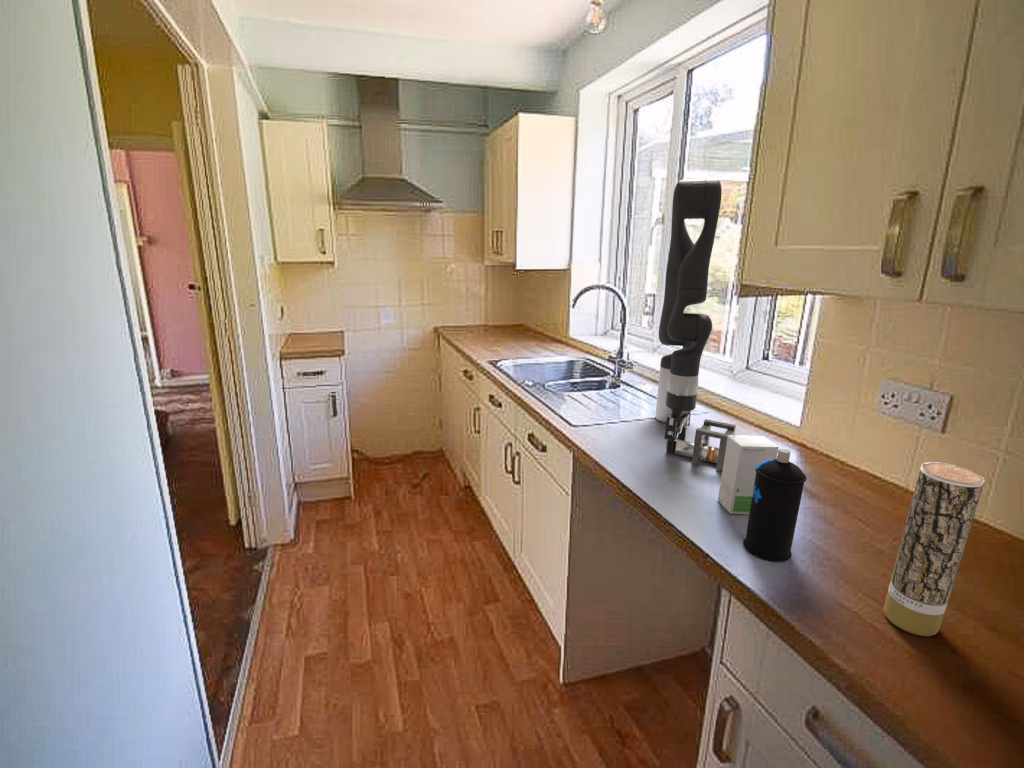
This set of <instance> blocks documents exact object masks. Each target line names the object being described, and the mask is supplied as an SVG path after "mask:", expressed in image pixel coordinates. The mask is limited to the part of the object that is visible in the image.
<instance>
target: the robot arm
mask: <svg viewBox="0 0 1024 768" xmlns="http://www.w3.org/2000/svg"><path fill="white" fill-rule="evenodd" d="M674 187H675V188H674V190H673V196H672V206H671V207H672V209H671V211H672V212H671V232H670V241H669V251H668V256H667V264H666V272H665V285H664V295H663V297H664V298H663V303H662V311H661V314H660V315H661V316H660V321H659V326H658V340H659V342H660V343H661V344H662V345H666V346H676V347H677V346H678V347H682V348H681V349H676V350H674V351H673V352H672V353H669V354H665V355H663V356H662V357H661V358H660V366H659V376H658V386H657V396H656V407H655V419H656V420H657V421H659V422H662V423H665V432H664V436H663V437H664V440H666V443H667V449H666V448H665V451H666V453H667V454H670V455H674V453H675V452H676V443H677V439H680V440H684V441H686V434H687V430H688V428H689V427H690V426H691V414H692V411H694V410H695V409H696V408H697V407H696V405H697V399H698V390H699V375H700V367H701V366H700V365H701V364H700V363H701V360H702V355H703V353H704V350H705V346H706V344H707V342H708V340H709V338H710V335H711V333H712V330H713V320H712V319H711V317H710V316H709V315H708V314H705V313H692V312H690V313H688V312H685V309H686V308H687V307H689V306H692V305H693V306H694V305H699V304H703V303H704V302H705V301H706V300H707V296H708V295H707V294H708V284H709V271H710V262H711V257H712V251H713V247H714V242H715V237H716V232H717V228H718V221H719V215H720V210H721V203H722V195H723V194H722V191H723V190H722V184H721V182H720V180H719V179H717V178H692V179H691V178H690V179H681V180H679V181H678V182H676V184H675V186H674ZM687 219H688V220H697V219H698V220H700V219H701V220H704V221H703V226H702V230H701V232H700V235H699V237H698V238H697V240H696V241H695V243H694V242H693V240H692V238H691V237H690V235H689V232H688V230H687V226H686V223H685V220H687ZM684 312H685V313H684ZM671 434H672V435H671Z"/></svg>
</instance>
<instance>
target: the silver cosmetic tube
mask: <svg viewBox="0 0 1024 768" xmlns="http://www.w3.org/2000/svg"><path fill="white" fill-rule="evenodd" d="M666 449H667V442H666V444H665V450H666ZM693 449H694V442H692V441H690V440H685V441H684V440H680V439H677V443H676V452H675V453H674V454H675V455H679V456H683V457H686V458H691V459H692V457H693ZM718 453H719V447H716V446H712V445H709V446H707V445H702V450H701V457H700V461H704V462H707V463H711V464H716V465H717V460H718ZM674 454H673V455H674Z"/></svg>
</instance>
